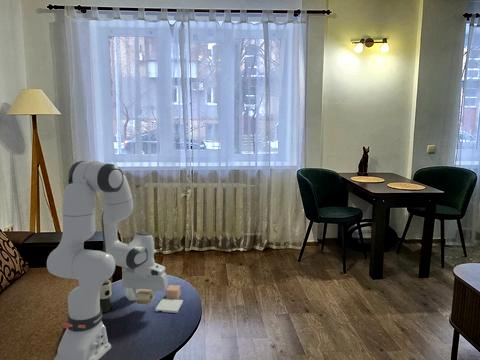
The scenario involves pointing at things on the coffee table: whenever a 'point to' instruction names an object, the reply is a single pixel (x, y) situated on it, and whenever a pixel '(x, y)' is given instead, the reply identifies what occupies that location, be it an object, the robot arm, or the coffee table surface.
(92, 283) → the robot arm
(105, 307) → the character mug
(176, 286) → the terracotta block
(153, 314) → the coffee table surface
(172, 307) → the base plate
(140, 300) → the maple block
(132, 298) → the jar
